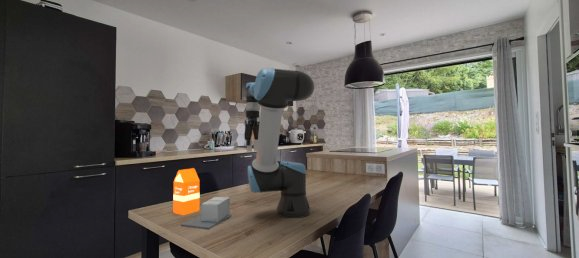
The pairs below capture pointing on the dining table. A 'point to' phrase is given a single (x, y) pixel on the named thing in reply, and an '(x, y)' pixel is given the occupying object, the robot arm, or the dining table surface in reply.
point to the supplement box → (215, 209)
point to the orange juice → (186, 192)
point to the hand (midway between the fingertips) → (252, 151)
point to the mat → (202, 223)
